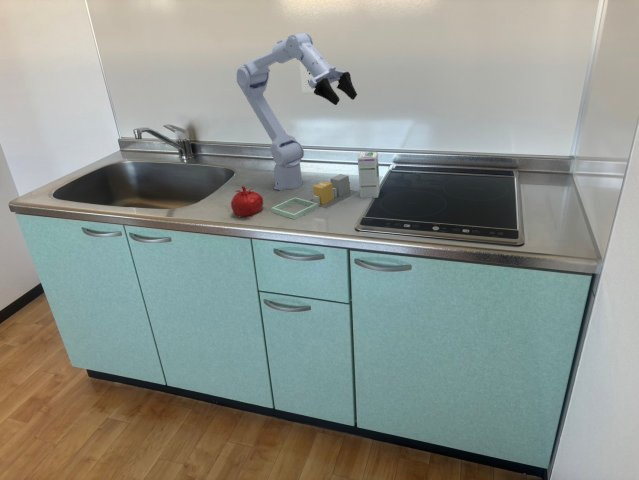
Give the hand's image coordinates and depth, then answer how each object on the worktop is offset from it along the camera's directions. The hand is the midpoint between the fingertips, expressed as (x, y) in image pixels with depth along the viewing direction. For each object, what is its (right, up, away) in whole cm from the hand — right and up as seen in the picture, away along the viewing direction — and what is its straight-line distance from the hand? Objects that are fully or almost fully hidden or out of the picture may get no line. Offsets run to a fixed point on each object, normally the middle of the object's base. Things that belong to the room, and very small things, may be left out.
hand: (346, 99), depth 139 cm
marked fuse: (-6, -28, +16) cm, 32 cm away
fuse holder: (-3, -27, +19) cm, 33 cm away
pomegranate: (-30, -32, +15) cm, 46 cm away
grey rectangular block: (-1, -25, +21) cm, 32 cm away
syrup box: (+9, -27, +18) cm, 33 cm away
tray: (-15, -32, +12) cm, 37 cm away
